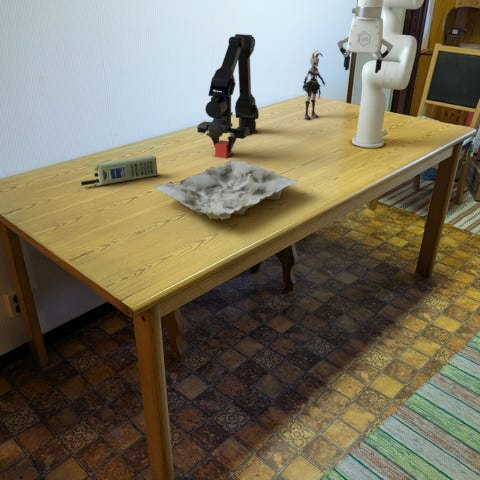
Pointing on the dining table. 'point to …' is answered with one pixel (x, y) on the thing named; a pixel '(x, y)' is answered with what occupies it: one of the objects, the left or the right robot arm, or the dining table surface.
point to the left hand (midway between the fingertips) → (223, 152)
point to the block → (222, 149)
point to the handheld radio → (124, 170)
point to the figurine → (312, 84)
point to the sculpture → (227, 189)
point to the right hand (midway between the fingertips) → (361, 70)
